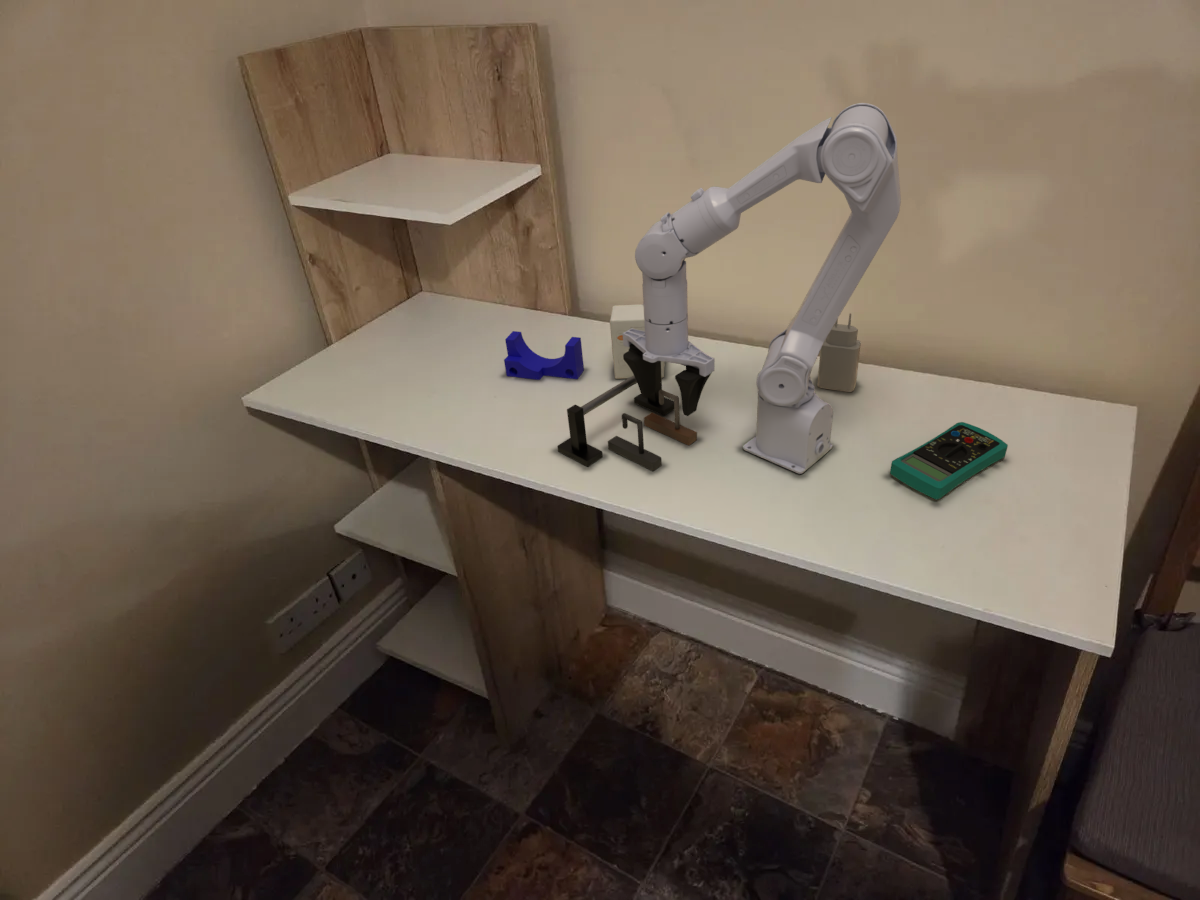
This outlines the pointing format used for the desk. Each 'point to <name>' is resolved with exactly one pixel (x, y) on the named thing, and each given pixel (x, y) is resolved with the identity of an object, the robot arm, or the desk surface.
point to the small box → (620, 323)
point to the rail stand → (577, 441)
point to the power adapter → (839, 358)
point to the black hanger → (634, 447)
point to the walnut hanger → (670, 422)
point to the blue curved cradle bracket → (542, 360)
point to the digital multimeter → (948, 459)
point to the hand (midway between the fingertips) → (668, 403)
